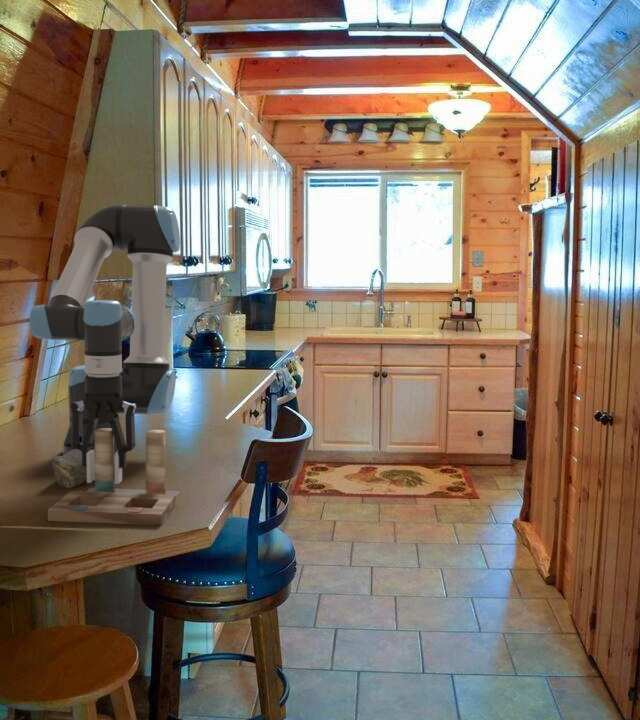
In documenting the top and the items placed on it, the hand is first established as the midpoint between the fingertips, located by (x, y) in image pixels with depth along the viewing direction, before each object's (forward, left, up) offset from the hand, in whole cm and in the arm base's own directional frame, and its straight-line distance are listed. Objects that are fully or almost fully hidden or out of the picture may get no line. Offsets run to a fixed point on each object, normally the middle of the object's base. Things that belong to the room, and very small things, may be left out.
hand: (104, 481), depth 159 cm
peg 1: (0, 0, -3) cm, 3 cm away
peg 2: (0, +11, -3) cm, 11 cm away
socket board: (+11, +6, -3) cm, 13 cm away
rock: (-11, -9, -4) cm, 14 cm away
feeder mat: (0, +6, -3) cm, 6 cm away
